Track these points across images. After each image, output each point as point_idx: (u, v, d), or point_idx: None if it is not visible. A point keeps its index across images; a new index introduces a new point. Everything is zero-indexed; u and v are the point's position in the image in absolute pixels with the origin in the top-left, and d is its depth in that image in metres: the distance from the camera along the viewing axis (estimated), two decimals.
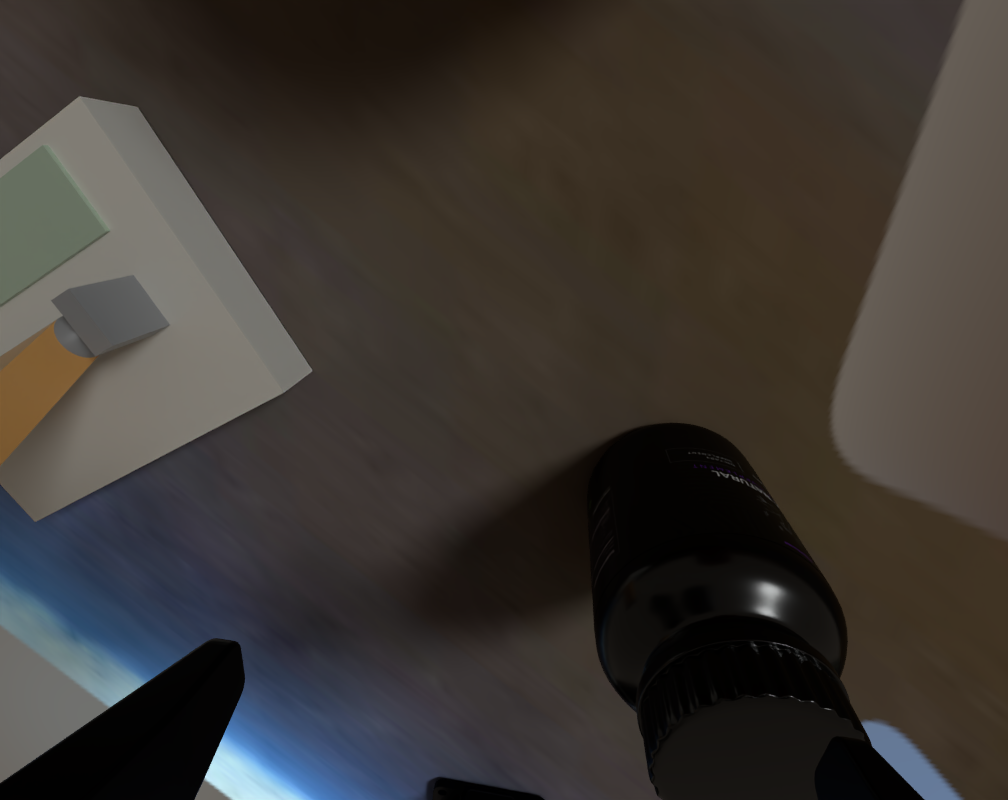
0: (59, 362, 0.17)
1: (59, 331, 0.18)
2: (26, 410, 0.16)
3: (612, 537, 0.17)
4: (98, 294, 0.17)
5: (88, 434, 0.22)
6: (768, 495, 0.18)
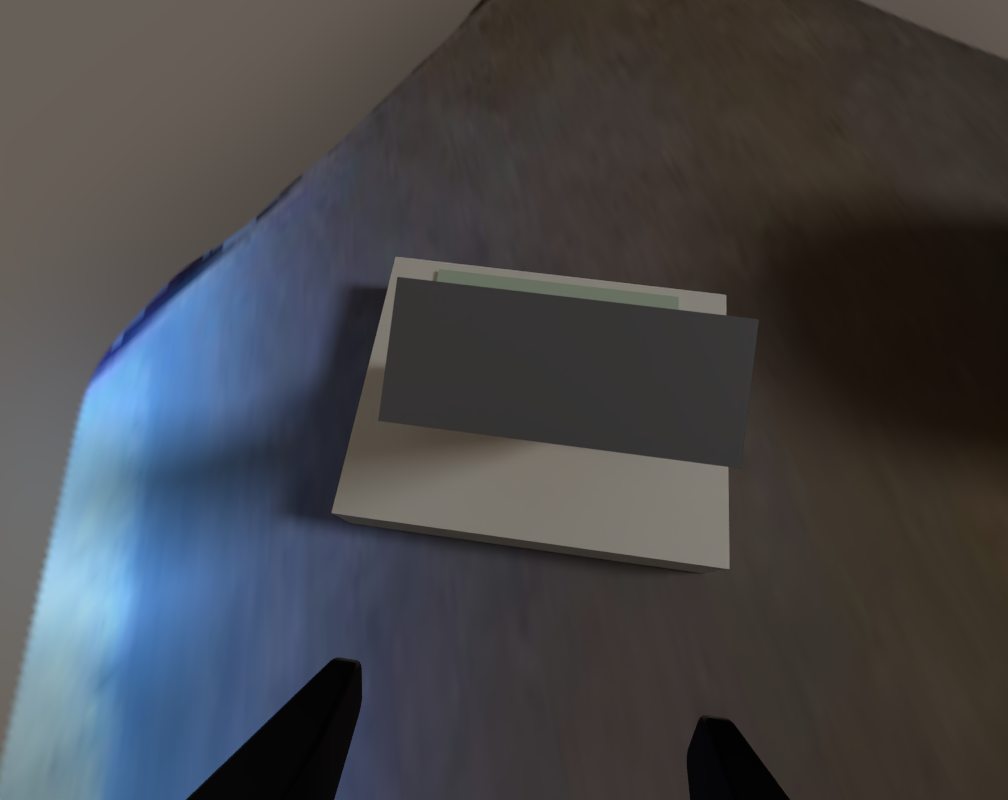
0: None
1: None
2: None
3: None
4: None
5: (491, 476, 0.20)
6: None
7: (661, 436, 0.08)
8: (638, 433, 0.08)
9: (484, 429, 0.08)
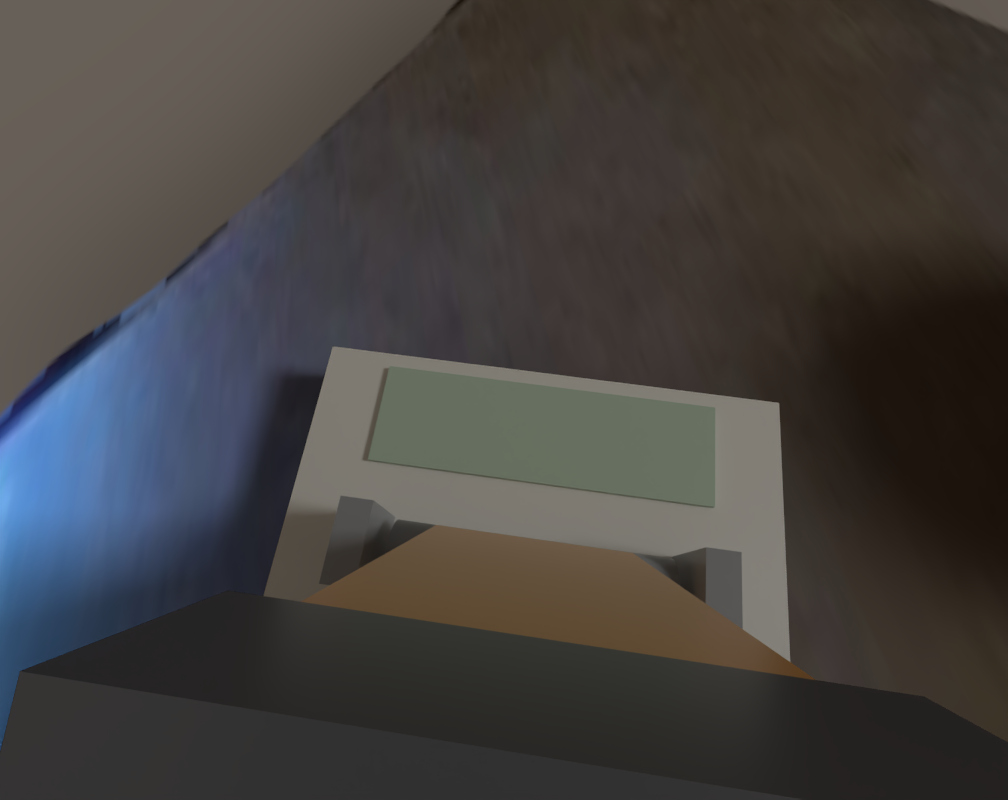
0: None
1: None
2: None
3: None
4: None
5: None
6: None
7: None
8: None
9: None
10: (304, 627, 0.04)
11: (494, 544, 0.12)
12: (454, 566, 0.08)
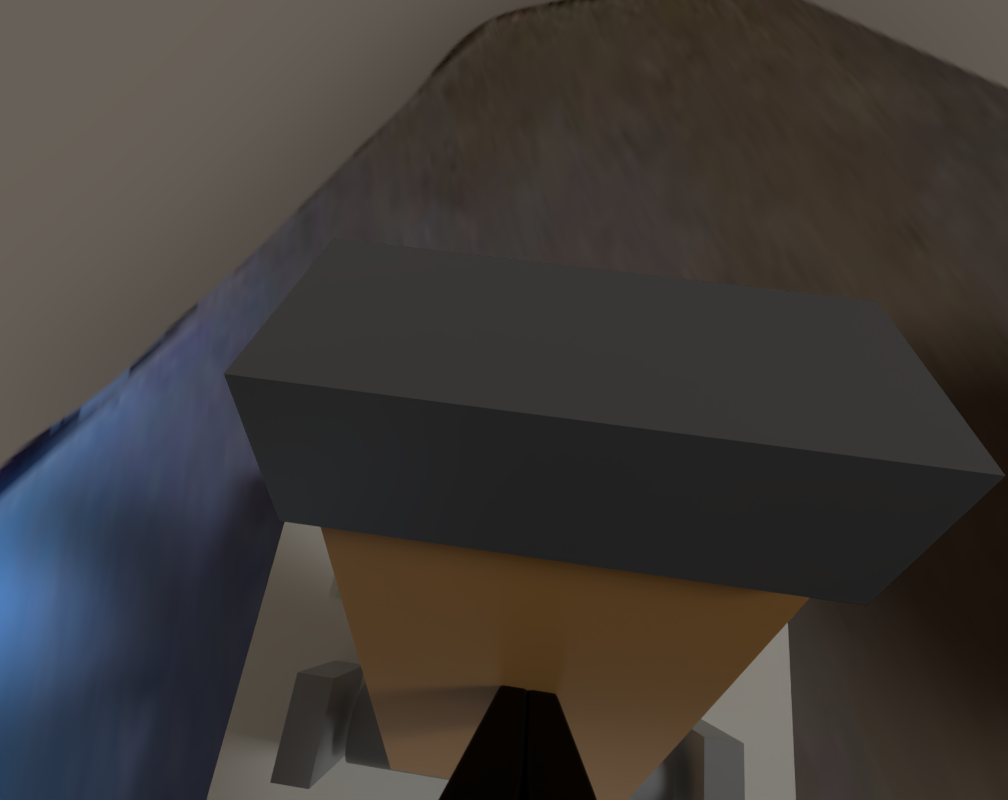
0: None
1: None
2: None
3: None
4: None
5: None
6: None
7: (810, 418, 0.04)
8: (763, 410, 0.04)
9: (447, 394, 0.04)
10: None
11: None
12: None
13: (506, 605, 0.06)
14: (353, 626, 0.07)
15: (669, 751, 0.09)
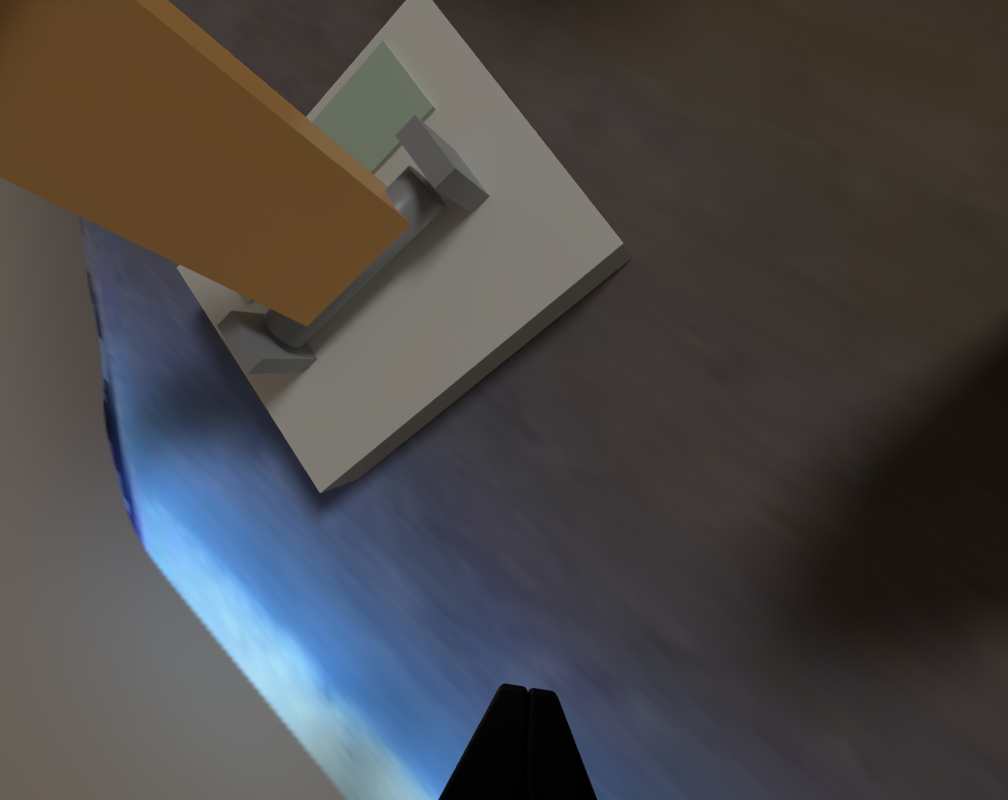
0: (372, 183, 0.16)
1: (392, 184, 0.17)
2: (313, 138, 0.14)
3: None
4: (435, 136, 0.16)
5: (389, 361, 0.19)
6: None
7: None
8: None
9: None
10: None
11: None
12: None
13: (43, 106, 0.11)
14: (64, 205, 0.13)
15: (300, 135, 0.13)
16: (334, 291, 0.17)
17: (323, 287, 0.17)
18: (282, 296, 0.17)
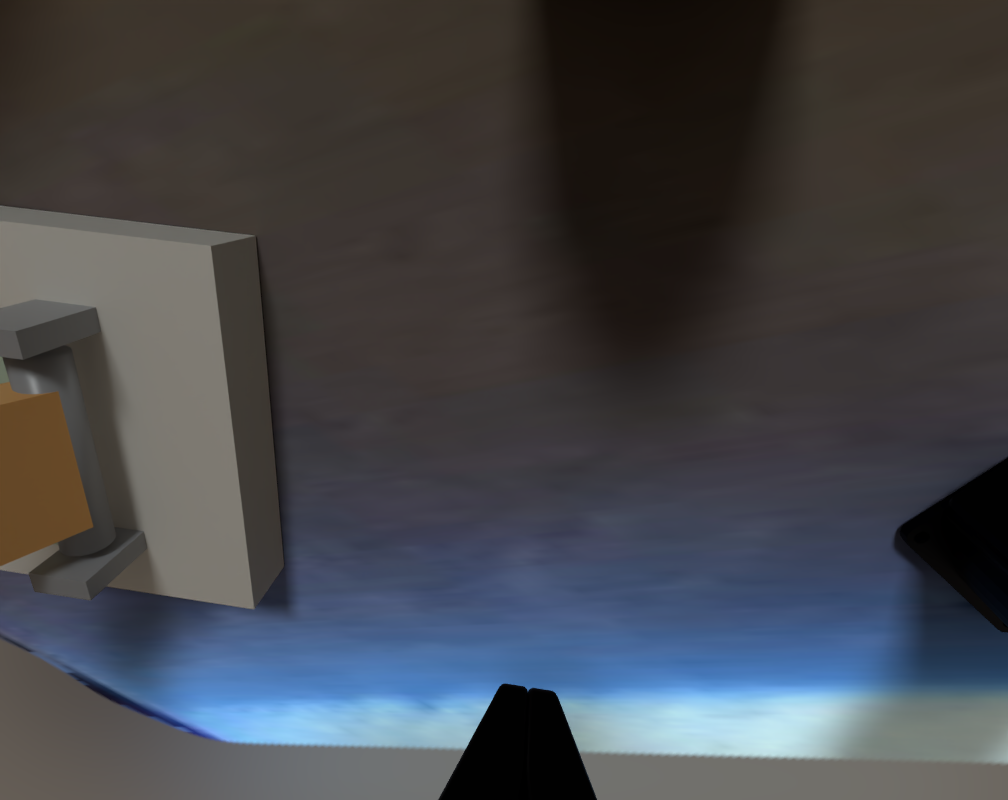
0: None
1: None
2: None
3: None
4: None
5: (183, 485, 0.19)
6: None
7: None
8: None
9: None
10: None
11: None
12: None
13: None
14: None
15: None
16: (74, 488, 0.17)
17: (61, 495, 0.17)
18: (39, 532, 0.17)
